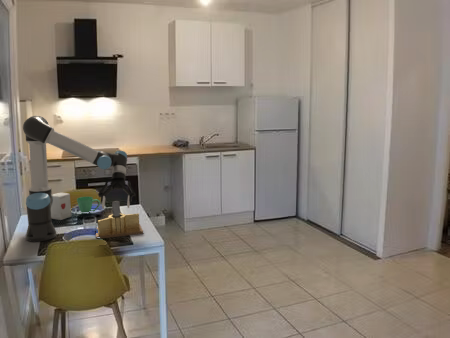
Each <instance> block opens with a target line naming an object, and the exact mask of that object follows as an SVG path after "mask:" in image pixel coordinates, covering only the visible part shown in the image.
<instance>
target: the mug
mask: <svg viewBox="0 0 450 338" xmlns="http://www.w3.org/2000/svg"><path fill="white" fill-rule="evenodd" d="M94 202H97V205H96V207H95V208H94V209H92V208H93V203H94ZM76 203H77V205H78V208H79V211H80V213H81V212H89V211H93V212H95V211H97V209H99V207H100V206H101V200H99V199H97V198H95V199H94V198H93V196H80V197H77V198H76Z"/></svg>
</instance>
